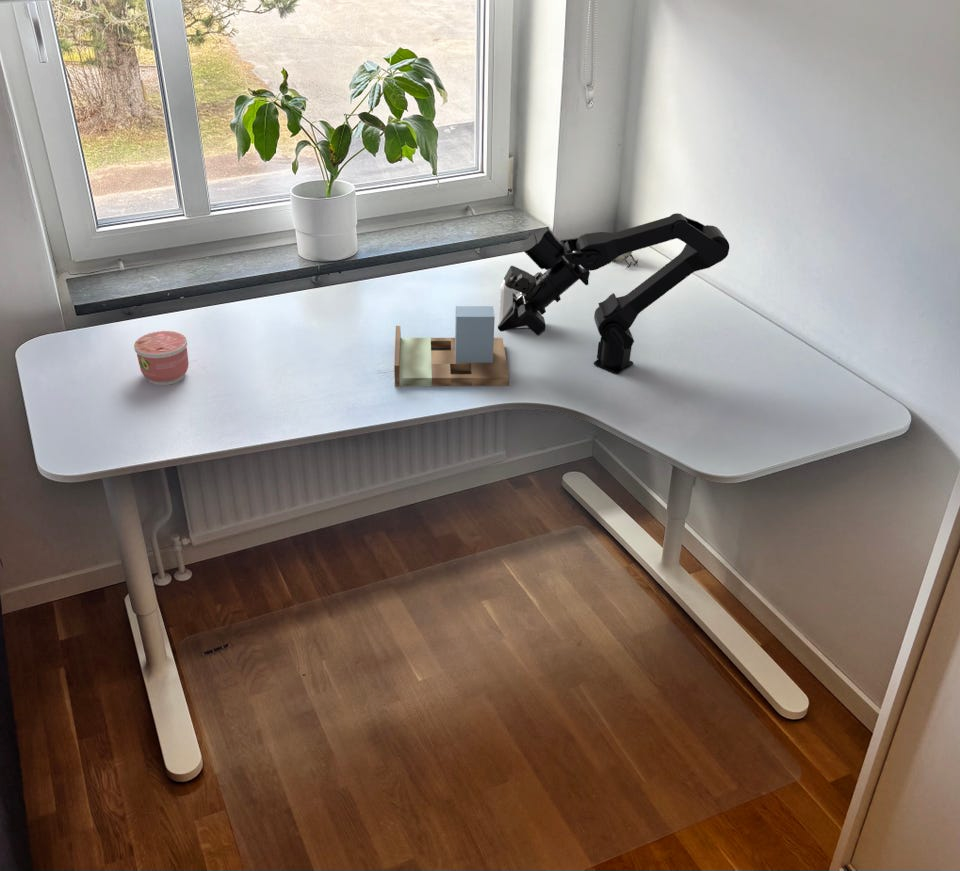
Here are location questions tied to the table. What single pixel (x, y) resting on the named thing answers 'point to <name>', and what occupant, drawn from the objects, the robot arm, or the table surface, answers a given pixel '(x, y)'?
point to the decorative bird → (625, 256)
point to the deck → (444, 364)
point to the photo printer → (506, 301)
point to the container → (162, 356)
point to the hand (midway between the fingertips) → (499, 329)
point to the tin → (474, 334)
